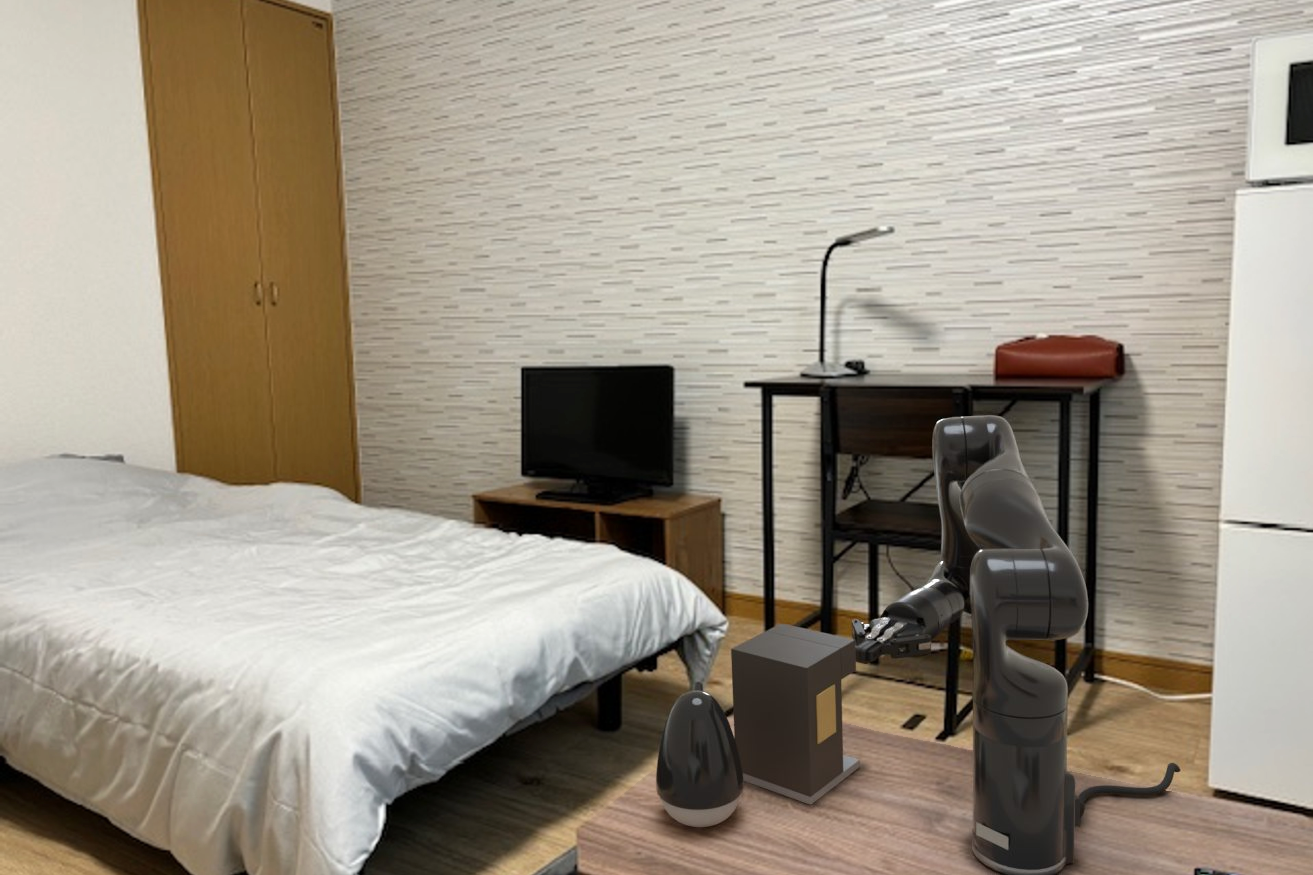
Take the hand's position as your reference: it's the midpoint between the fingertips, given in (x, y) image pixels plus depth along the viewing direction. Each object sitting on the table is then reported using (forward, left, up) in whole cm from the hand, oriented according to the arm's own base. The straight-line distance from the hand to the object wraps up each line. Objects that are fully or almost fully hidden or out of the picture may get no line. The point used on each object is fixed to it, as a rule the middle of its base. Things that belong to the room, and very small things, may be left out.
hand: (860, 656), depth 136 cm
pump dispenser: (+27, +18, -10) cm, 33 cm away
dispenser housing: (+12, +11, -10) cm, 19 cm away
